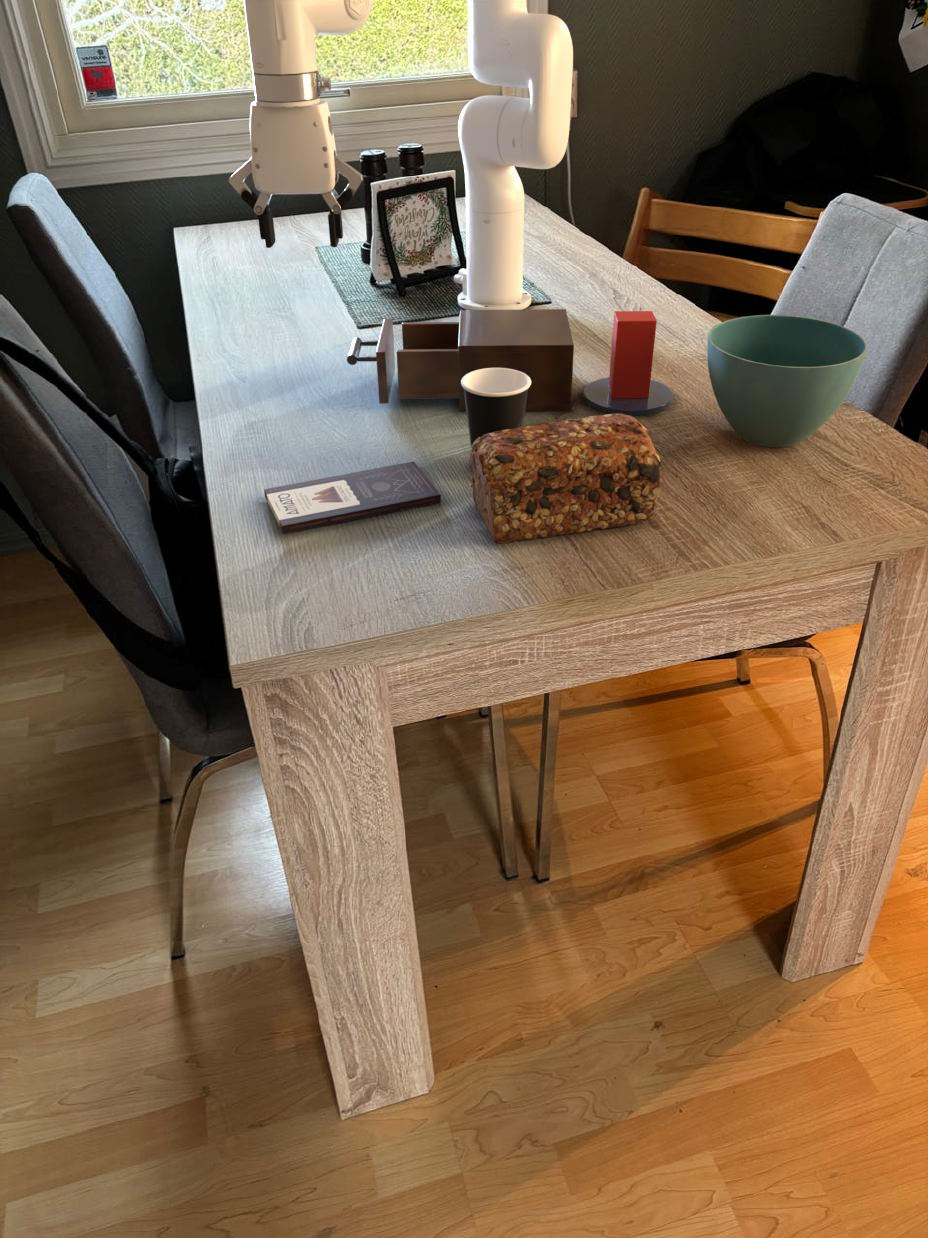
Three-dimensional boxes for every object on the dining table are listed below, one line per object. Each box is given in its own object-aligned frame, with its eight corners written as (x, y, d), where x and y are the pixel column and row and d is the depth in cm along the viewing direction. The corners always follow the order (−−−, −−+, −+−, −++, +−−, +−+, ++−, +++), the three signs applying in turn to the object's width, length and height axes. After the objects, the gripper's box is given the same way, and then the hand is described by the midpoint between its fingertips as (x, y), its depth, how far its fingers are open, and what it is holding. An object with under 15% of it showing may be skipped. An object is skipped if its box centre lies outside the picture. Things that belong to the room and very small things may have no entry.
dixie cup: (536, 479, 114) (539, 389, 107) (470, 487, 112) (469, 396, 106) (518, 450, 120) (520, 364, 114) (455, 457, 119) (454, 370, 112)
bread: (624, 482, 113) (632, 400, 107) (659, 527, 104) (669, 441, 99) (467, 501, 110) (466, 418, 104) (490, 548, 101) (491, 461, 95)
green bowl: (762, 478, 113) (781, 377, 106) (666, 422, 126) (677, 328, 119) (876, 446, 120) (901, 348, 113) (774, 395, 133) (790, 305, 126)
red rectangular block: (611, 398, 131) (617, 320, 125) (608, 387, 134) (614, 310, 128) (648, 398, 131) (656, 320, 125) (644, 386, 134) (652, 310, 128)
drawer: (347, 404, 130) (342, 352, 126) (357, 367, 141) (353, 318, 137) (481, 403, 130) (481, 351, 126) (480, 366, 141) (480, 317, 137)
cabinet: (459, 411, 130) (458, 345, 125) (461, 371, 142) (460, 309, 137) (570, 410, 130) (574, 344, 125) (562, 370, 142) (565, 308, 136)
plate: (565, 398, 133) (565, 392, 133) (620, 374, 140) (620, 369, 140) (635, 423, 126) (636, 418, 126) (690, 397, 133) (690, 392, 133)
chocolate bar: (440, 494, 109) (281, 525, 104) (441, 501, 109) (283, 533, 104) (414, 461, 116) (263, 489, 110) (414, 468, 116) (265, 496, 111)
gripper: (363, 84, 118) (373, 236, 128) (220, 85, 118) (241, 237, 128) (357, 92, 112) (368, 252, 122) (205, 94, 112) (229, 253, 122)
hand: (302, 243), depth 125 cm, fingers open, 7 cm apart
